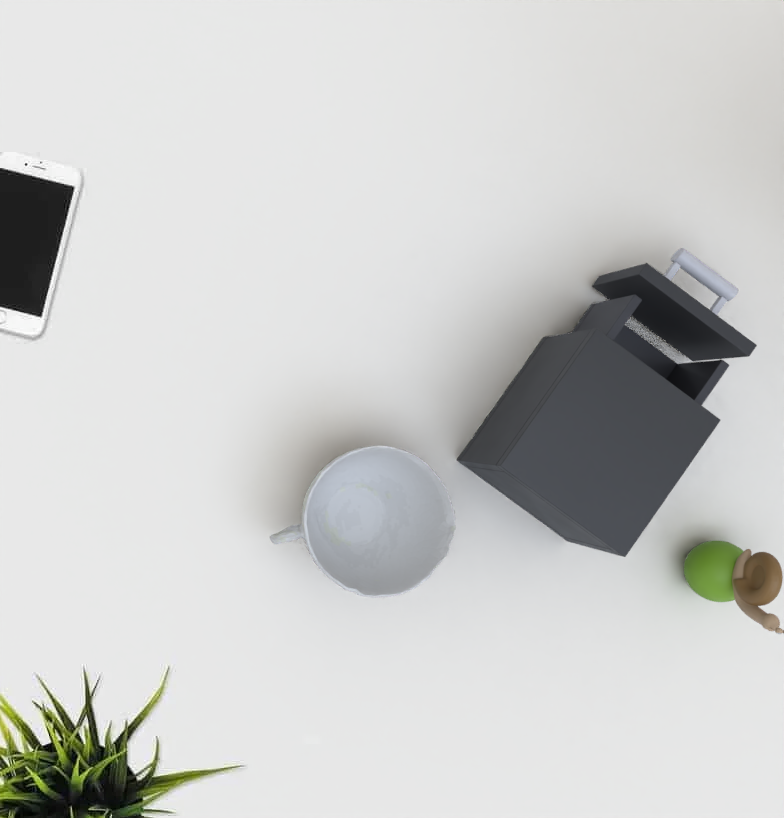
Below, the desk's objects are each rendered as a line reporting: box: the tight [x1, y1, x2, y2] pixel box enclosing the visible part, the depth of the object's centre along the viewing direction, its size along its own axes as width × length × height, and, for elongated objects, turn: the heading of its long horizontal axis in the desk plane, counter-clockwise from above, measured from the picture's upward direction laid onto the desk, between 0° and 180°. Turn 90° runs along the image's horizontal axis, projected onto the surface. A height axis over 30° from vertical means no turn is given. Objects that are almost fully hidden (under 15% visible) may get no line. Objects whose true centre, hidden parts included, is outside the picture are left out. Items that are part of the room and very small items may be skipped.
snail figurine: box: [683, 539, 784, 635], centre depth 86 cm, size 5×6×12 cm
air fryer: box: [456, 328, 721, 558], centre depth 86 cm, size 14×13×10 cm
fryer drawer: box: [571, 247, 757, 406], centre depth 86 cm, size 17×12×8 cm
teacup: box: [269, 445, 457, 599], centre depth 86 cm, size 15×12×8 cm
